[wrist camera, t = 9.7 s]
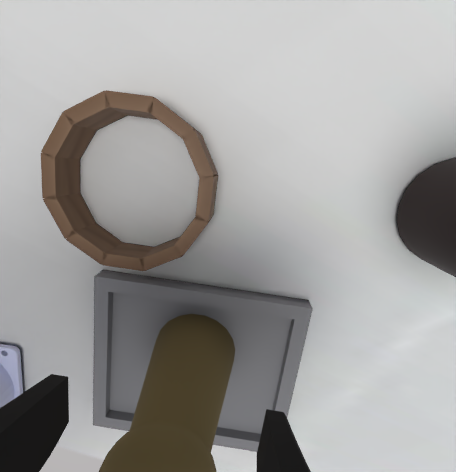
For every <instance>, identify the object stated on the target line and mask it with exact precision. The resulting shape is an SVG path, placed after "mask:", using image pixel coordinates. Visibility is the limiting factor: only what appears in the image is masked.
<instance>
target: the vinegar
mask: <svg viewBox="0 0 456 472" xmlns="http://www.w3.org/2000/svg"><path fill="white" fill-rule="evenodd" d="M397 224H398V229H399V234H400V237H401V238H402V240H403V241H404V243H405V245H406V246H407V248H408V249H409V250H410V251H411V252H412V253H414V254H415V255H417V256H418V257H419V258H421V259H422V260H424V261H426V262H428V263H430V264H432V265H434V266H435V267H437V268H439V269H441V270H443V271H445V272H447V273H449V274H451V275H453V276H454V277H456V158H453V159H450V160H447V161H443V162H440V163H437V164H435V165H433V166H432V167H430V168H429V169H427V170H426V171H424V172H423V173H421V174H420V175H418V177H417V178H416V179H415V180H414V181H413V182H412V183H411V185H410V186H409V187H408V188H407V189H406V191H405V193H404V195H403V198H402V200H401V202H400V204H399V209H398V217H397Z"/></svg>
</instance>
